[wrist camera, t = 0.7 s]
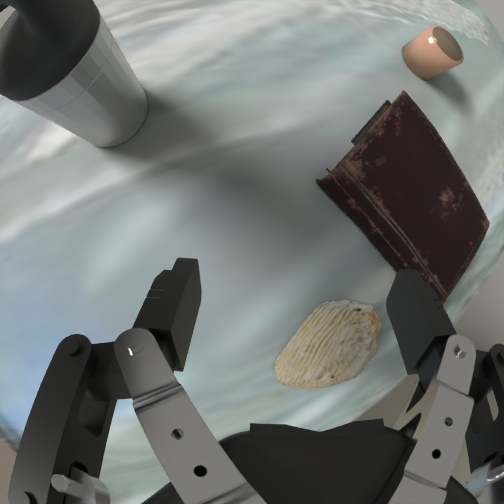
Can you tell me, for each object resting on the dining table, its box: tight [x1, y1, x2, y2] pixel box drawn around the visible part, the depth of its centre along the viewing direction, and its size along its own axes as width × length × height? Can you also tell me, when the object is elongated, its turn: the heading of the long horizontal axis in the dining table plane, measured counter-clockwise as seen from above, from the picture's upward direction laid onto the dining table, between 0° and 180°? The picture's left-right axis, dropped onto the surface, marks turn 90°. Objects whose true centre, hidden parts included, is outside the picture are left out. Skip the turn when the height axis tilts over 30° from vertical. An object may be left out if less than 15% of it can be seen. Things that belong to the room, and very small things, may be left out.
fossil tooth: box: [273, 299, 380, 389], centre depth 30 cm, size 12×6×15 cm
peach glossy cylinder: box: [402, 25, 464, 80], centre depth 29 cm, size 7×7×8 cm
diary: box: [316, 90, 490, 304], centre depth 33 cm, size 19×25×5 cm
